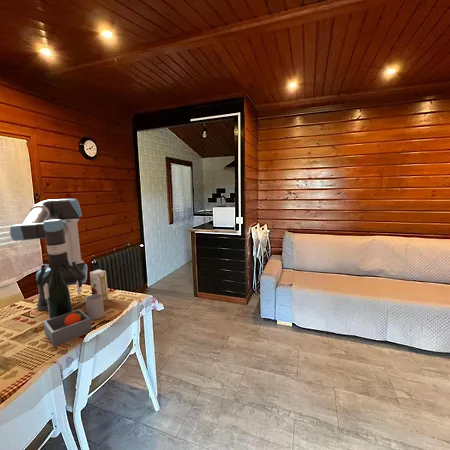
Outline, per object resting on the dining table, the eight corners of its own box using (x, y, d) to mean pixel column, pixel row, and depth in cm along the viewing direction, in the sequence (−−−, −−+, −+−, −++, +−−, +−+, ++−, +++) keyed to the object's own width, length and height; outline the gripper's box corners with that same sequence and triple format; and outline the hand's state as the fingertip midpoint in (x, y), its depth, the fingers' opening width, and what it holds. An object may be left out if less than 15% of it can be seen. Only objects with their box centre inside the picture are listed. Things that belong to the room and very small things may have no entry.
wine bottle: (46, 327, 128) (38, 264, 124) (53, 318, 138) (46, 259, 134) (70, 323, 131) (62, 261, 127) (75, 314, 141) (68, 257, 137)
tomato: (76, 326, 128) (83, 312, 130) (79, 332, 123) (87, 318, 125) (60, 323, 123) (68, 309, 125) (63, 329, 118) (71, 314, 119)
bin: (45, 333, 122) (43, 321, 122) (81, 320, 134) (79, 308, 133) (53, 346, 111) (51, 332, 111) (91, 331, 123) (90, 318, 122)
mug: (102, 318, 135) (100, 299, 133) (85, 321, 133) (82, 301, 131) (107, 308, 146) (105, 290, 145) (91, 311, 144) (88, 292, 143)
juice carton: (102, 296, 164) (99, 268, 161) (110, 299, 159) (107, 270, 157) (91, 301, 157) (87, 272, 155) (99, 304, 153) (96, 274, 150)
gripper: (22, 257, 110) (29, 303, 113) (85, 251, 117) (90, 294, 120) (29, 253, 117) (36, 296, 121) (89, 248, 124) (93, 288, 128)
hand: (63, 295), depth 120 cm, fingers open, 13 cm apart
